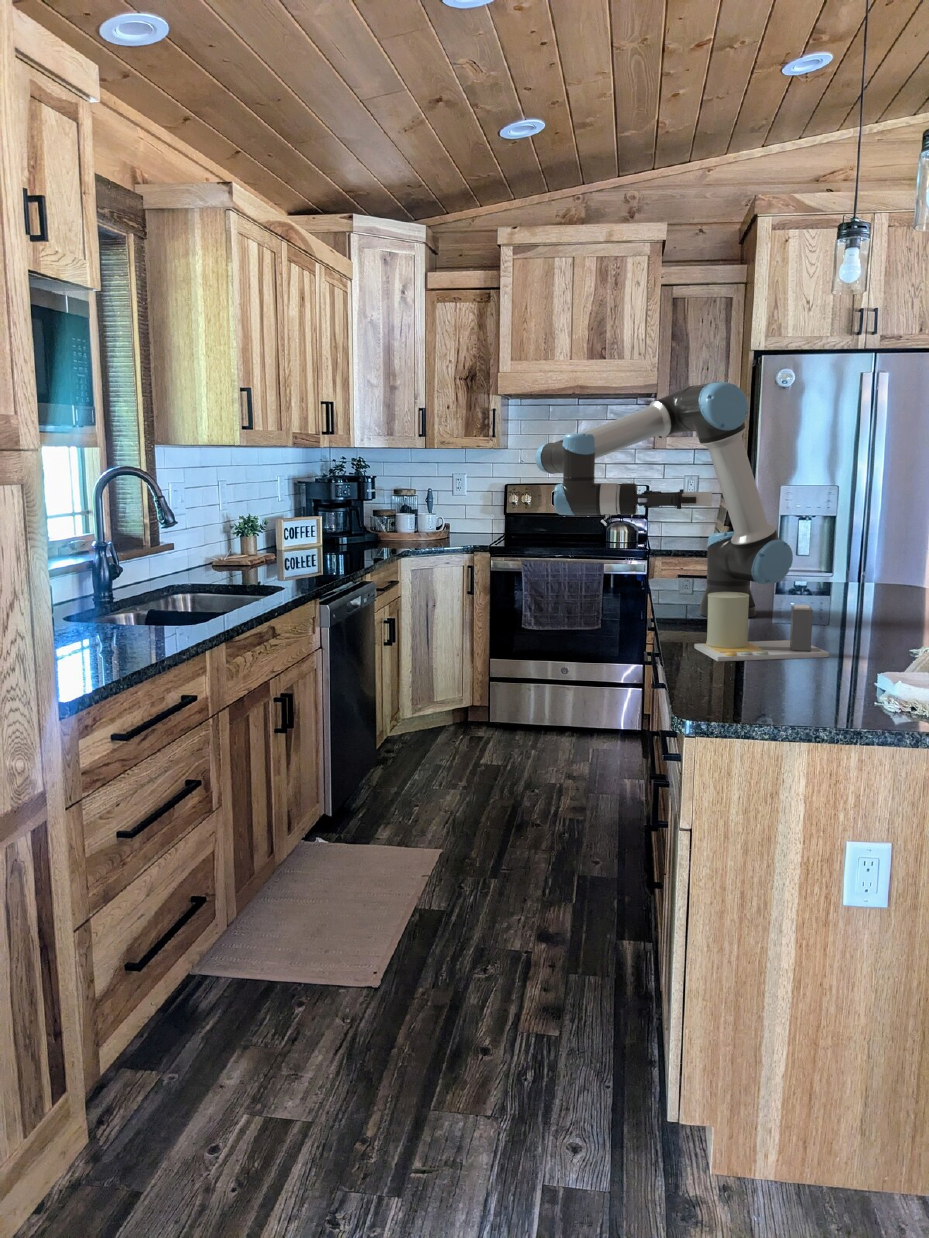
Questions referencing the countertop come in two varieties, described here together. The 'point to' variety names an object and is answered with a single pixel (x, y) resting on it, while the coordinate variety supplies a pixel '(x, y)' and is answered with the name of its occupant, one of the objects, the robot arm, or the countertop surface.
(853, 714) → the countertop surface
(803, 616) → the grey upright block
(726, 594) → the can
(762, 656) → the panel
